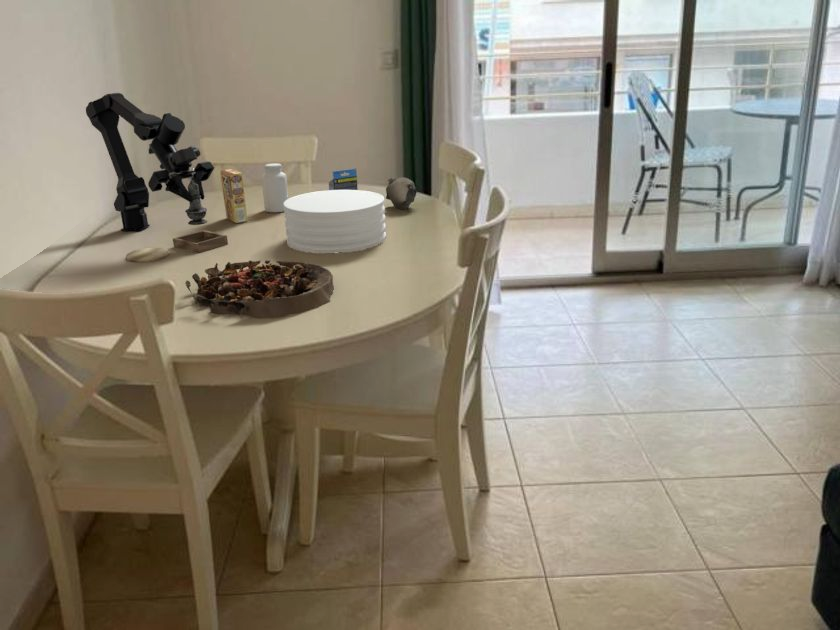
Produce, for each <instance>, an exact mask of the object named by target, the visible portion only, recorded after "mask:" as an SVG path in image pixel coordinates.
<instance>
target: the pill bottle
mask: <svg viewBox="0 0 840 630" xmlns="http://www.w3.org/2000/svg"><path fill="white" fill-rule="evenodd" d="M264 169H265V172H264V173H263V174H262V175H261V186H262V195H263V207H264V212H267V213H277V214H278V213H283V212H285V209H284V202H285V201H286V200H287V199H289V193H288V192H289V190H288V181H287V174H286V173H285V172H282V170H283V167H282V164H281V163H276V162H275V163H267V164H265V165H264Z"/></svg>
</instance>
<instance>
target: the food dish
mask: <svg viewBox="0 0 840 630" xmlns="http://www.w3.org/2000/svg"><path fill="white" fill-rule="evenodd" d="M261 262H262V260H256V261H252V260H248V261H244V262H243V261H241V262H233V263H231V262H230V261H228V262H227V263H226V264H225V266H224V269H223V270H219V267H218V265H219V264H218V263H217V262H216V263H215V265H214V267H209V268H205V269H204V272H205V274H207V278H208V279H207V278H206V277H204V276H201V277H200V276H199V274H198V273H196V272H195V273H194V274H192V276H191V277H192V279H193V280H194V282H195V283H196V285H197V287H198V289H197V291H196V293H195V292H192V291H191V288H190V287H191V286H192V285H191V282H190V281H189V280H186V281H185V287H186V288H187V290H188V291H189V292H190V294H191V295H192V297H193V299H194V301H195V304H197V306H199V307H201V308H204V307H207V308H210V312H211V313H213V314H215V315H222V316H224V315H225V316H226V315H228V316H229V315H230V316H249V317H251V318H254V319H258V320H259V319H260V320H261V319H280V318H284V317H288V316H290V315H298V314H302V313H306V312H309V311H311V310H314V309H315V310H316V309H318V308H319V307H322V306H325V305H326V304H329V303H330V302H331V297H332V296H333V295H334V291H333V290H335V288H334V287H335V285H334V280H333V279H334V278H333V277H334V276H333V274H332V272H331V271H330V270H329V269H328V268H326V267H323V266H322V265H319V264H314V263H311V262H305V261H299V260H298V261H295V260H290V261H287V260H284V261H282V260H278V261H275V262H276V263H277V264H279V265H276V264H275V263H271V260H267V259H266V260H265V261H264V263H265V264H264V263H262V265H260V264H261ZM247 268H248V269H247ZM237 270H239V271H237Z"/></svg>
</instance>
